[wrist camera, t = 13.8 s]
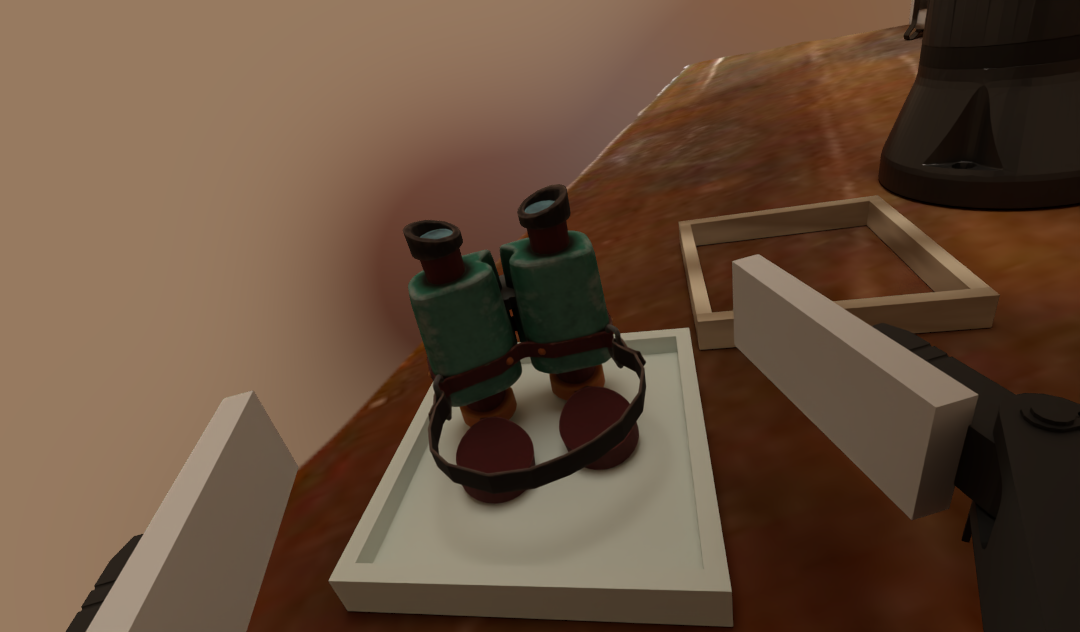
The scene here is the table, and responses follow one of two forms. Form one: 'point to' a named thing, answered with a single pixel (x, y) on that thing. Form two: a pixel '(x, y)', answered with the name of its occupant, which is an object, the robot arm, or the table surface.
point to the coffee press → (916, 18)
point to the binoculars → (520, 349)
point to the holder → (945, 309)
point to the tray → (555, 517)
